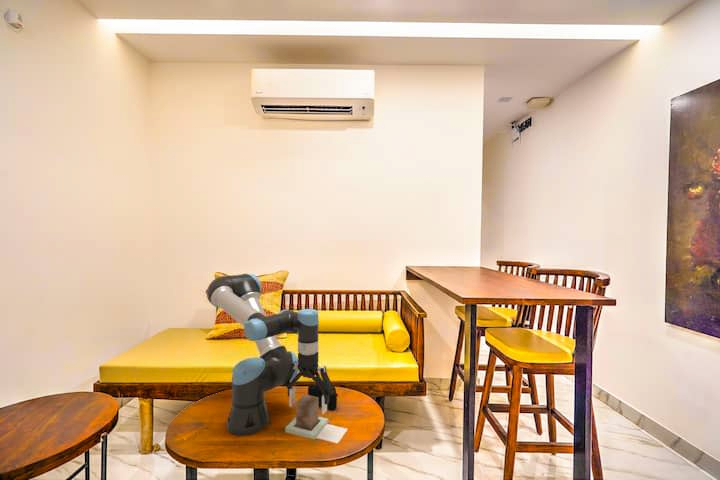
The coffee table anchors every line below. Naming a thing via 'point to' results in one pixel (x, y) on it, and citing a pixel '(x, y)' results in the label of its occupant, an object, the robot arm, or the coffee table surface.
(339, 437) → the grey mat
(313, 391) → the film camera
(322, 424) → the pocket board
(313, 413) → the walnut block
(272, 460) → the coffee table surface
